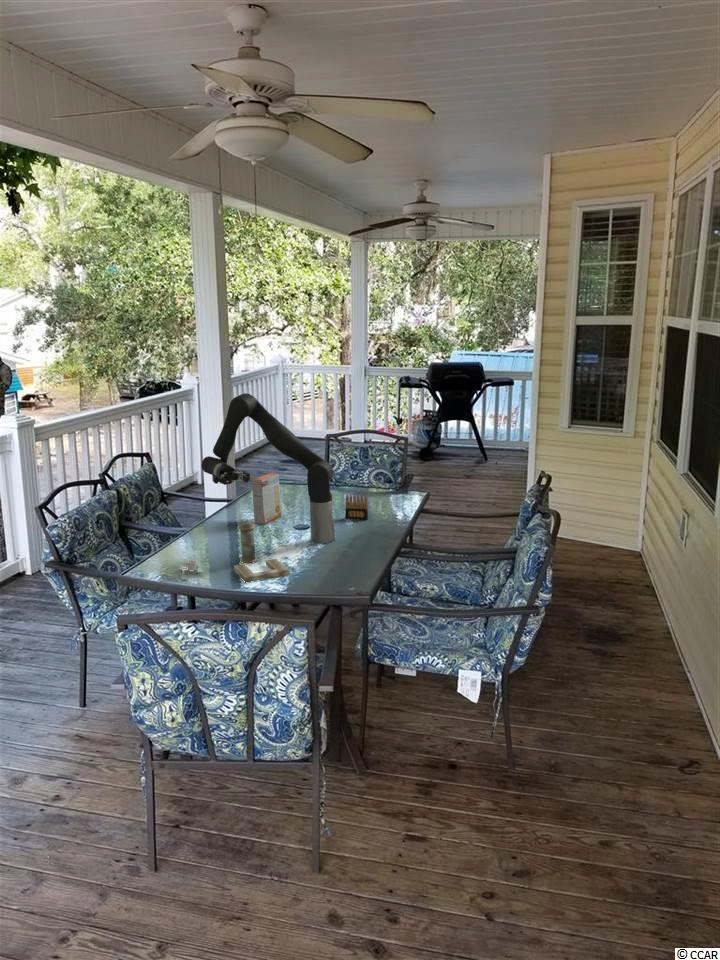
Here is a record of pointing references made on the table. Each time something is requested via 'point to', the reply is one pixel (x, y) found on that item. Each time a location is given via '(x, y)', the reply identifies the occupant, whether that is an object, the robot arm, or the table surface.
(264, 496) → the cracker box
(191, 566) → the white curved piece
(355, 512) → the ammunition clip
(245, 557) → the bobbin
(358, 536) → the table surface
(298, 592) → the table surface
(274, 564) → the tan u-shaped bracket
